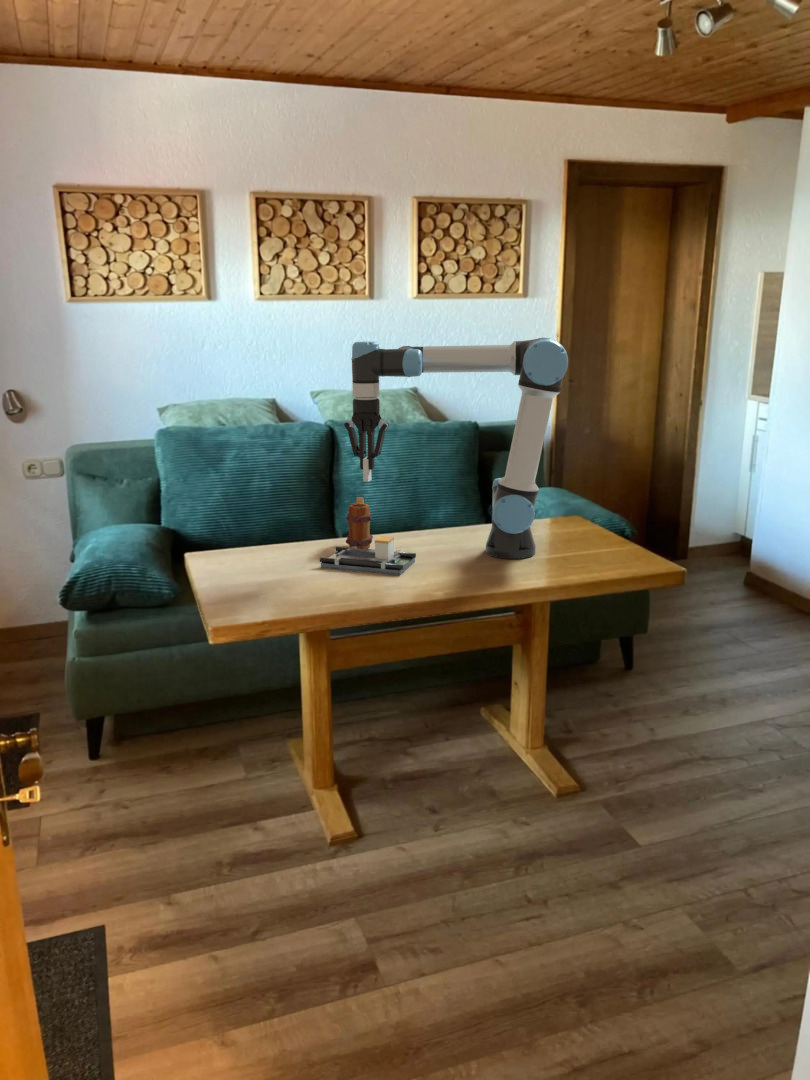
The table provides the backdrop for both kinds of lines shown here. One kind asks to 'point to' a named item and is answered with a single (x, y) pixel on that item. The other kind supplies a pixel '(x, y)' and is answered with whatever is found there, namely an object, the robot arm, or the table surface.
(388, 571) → the panel
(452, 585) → the table surface
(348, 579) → the table surface
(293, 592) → the table surface
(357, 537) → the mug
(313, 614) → the table surface
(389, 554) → the orange grey block
